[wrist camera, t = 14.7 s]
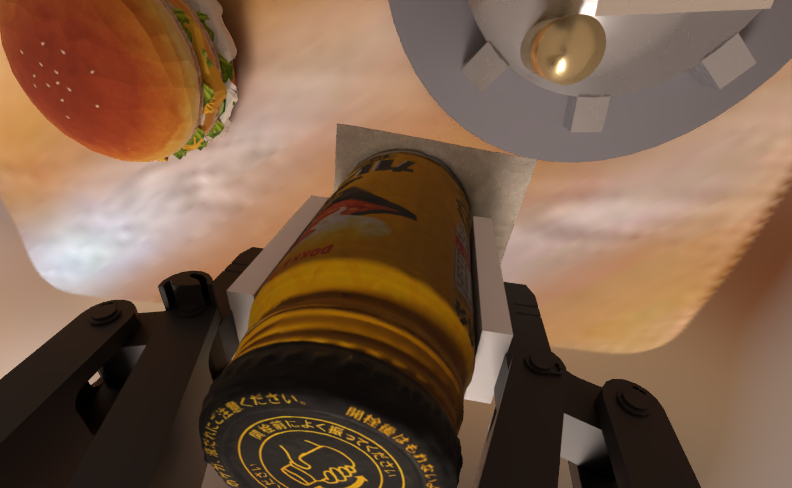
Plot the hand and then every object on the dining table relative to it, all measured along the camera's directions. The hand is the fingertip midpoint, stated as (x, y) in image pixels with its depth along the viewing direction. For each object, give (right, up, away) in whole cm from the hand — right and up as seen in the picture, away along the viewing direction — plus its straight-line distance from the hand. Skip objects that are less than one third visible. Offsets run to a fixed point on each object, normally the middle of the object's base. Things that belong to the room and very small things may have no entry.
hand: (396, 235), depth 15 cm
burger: (-18, +15, +14) cm, 27 cm away
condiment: (+1, +1, +2) cm, 2 cm away
